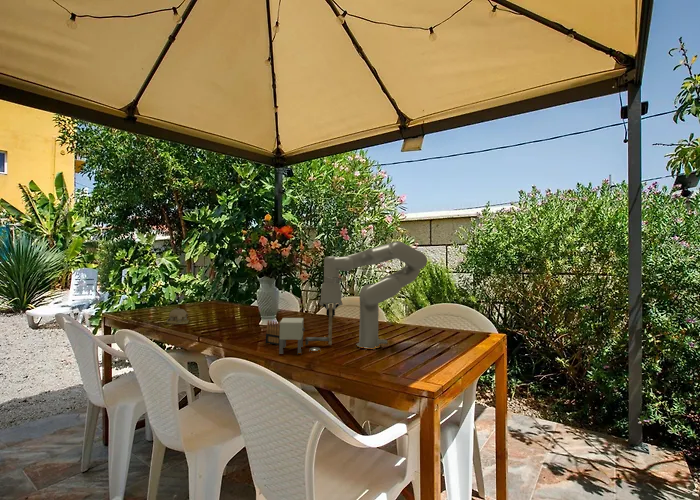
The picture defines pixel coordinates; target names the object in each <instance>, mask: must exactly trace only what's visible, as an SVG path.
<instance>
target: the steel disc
mask: <svg viewBox="0 0 700 500" xmlns="http://www.w3.org/2000/svg"><path fill="white" fill-rule="evenodd" d="M310 350H311V351H318V350H320V351H321V348H320V347H310V348H309V351H310Z"/></svg>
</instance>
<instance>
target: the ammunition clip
mask: <svg viewBox="0 0 700 500" xmlns="http://www.w3.org/2000/svg"><path fill="white" fill-rule="evenodd" d="M279 340H280V321H278V322H277V321H274V320H267V323H266V334H265V344H266V343H270V344H269V345H271V344H276V345H275V346H277V345H279Z"/></svg>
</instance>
